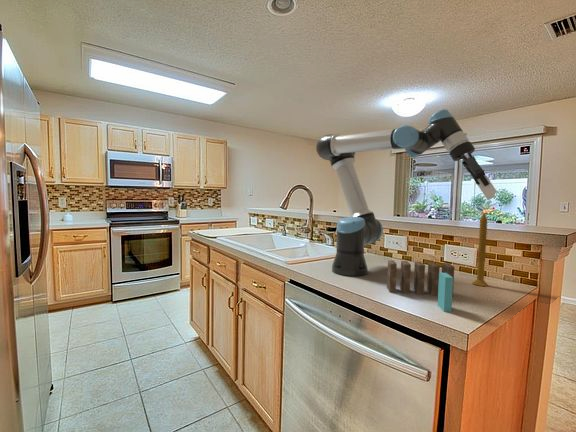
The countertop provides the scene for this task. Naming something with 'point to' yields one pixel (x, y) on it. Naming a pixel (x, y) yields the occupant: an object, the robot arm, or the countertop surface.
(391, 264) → the domino
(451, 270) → the domino
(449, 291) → the domino
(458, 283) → the countertop surface
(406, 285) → the domino
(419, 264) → the domino
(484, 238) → the candlestick
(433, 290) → the domino
